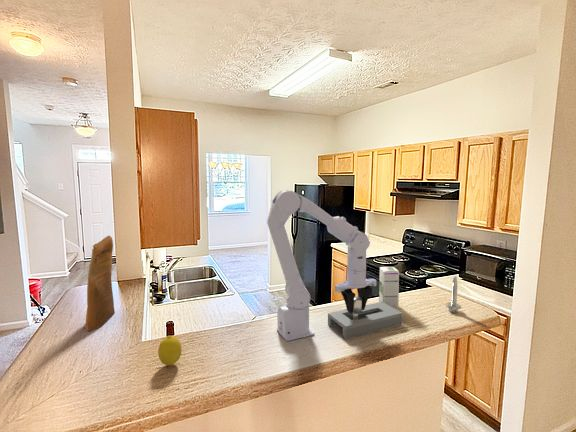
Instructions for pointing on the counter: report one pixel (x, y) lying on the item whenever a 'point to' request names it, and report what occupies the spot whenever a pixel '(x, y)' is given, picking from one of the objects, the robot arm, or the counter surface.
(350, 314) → the keyhole plate
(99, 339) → the counter surface
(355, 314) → the steel peg
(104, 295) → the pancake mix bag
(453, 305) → the screw
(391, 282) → the syrup box
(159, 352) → the lemon
